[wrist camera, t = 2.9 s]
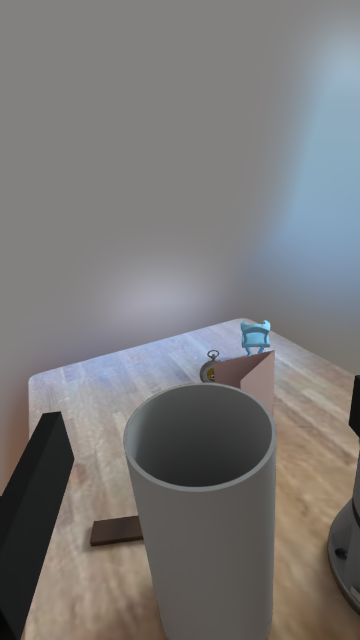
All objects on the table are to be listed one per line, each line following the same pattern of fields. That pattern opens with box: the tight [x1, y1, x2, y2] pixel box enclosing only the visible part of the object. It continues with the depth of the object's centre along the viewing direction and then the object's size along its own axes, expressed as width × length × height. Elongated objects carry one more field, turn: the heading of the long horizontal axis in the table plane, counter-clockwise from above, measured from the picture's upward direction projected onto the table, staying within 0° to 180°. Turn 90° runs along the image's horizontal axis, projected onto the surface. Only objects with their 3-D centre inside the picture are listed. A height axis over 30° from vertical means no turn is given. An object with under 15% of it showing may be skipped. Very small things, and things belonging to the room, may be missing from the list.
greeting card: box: [214, 350, 275, 417], centre depth 56 cm, size 11×7×15 cm, turn 104°
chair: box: [241, 321, 270, 356], centre depth 80 cm, size 8×8×12 cm
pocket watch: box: [200, 350, 222, 383], centre depth 69 cm, size 8×8×10 cm
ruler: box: [90, 515, 144, 546], centre depth 45 cm, size 24×3×1 cm, turn 94°
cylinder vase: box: [123, 383, 277, 640], centre depth 32 cm, size 12×12×25 cm
